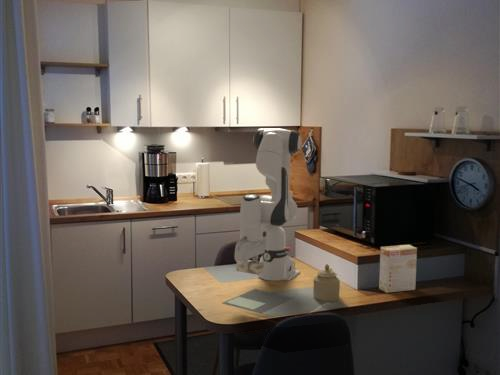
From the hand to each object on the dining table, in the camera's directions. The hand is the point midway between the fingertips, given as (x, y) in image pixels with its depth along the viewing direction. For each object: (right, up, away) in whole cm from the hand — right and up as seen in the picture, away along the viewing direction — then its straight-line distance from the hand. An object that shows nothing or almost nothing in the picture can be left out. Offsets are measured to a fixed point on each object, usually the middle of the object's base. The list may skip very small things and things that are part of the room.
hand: (250, 267), depth 234 cm
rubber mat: (+3, -15, +5) cm, 16 cm away
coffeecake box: (+66, -13, +24) cm, 72 cm away
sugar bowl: (+32, -14, +13) cm, 38 cm away
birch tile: (0, -2, 0) cm, 2 cm away
